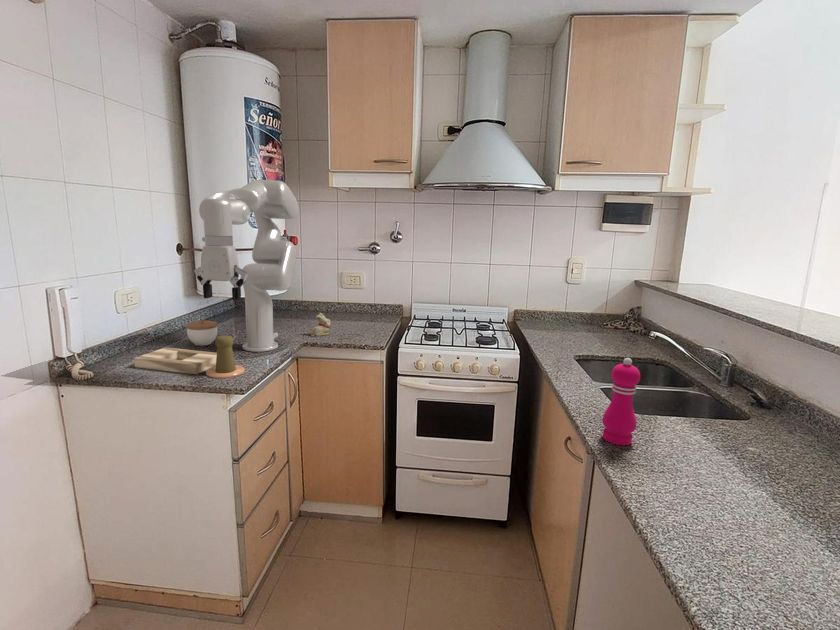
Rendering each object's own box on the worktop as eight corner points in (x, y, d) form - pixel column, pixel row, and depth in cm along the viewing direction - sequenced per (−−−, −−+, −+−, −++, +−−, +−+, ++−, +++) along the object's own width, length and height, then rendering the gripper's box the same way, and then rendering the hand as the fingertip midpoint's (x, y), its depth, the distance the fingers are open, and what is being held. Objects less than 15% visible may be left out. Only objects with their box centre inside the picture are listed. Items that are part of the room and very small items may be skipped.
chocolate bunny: (327, 337, 183) (327, 314, 182) (309, 336, 184) (309, 313, 182) (331, 334, 189) (331, 311, 187) (313, 333, 189) (313, 310, 187)
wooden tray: (166, 355, 151) (165, 347, 150) (223, 362, 146) (222, 353, 146) (134, 367, 138) (134, 358, 138) (196, 374, 134) (195, 365, 133)
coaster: (221, 365, 143) (221, 363, 143) (251, 368, 141) (251, 366, 141) (198, 375, 133) (198, 374, 133) (230, 379, 131) (230, 377, 131)
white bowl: (223, 340, 172) (222, 317, 171) (210, 347, 162) (208, 323, 160) (196, 339, 173) (195, 316, 171) (181, 346, 162) (179, 322, 160)
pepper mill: (593, 433, 105) (604, 353, 101) (619, 431, 107) (631, 352, 103) (613, 448, 98) (625, 363, 94) (640, 445, 100) (653, 362, 96)
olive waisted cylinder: (213, 373, 133) (211, 339, 131) (217, 367, 139) (215, 334, 137) (234, 372, 135) (233, 338, 133) (237, 366, 141) (235, 333, 138)
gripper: (184, 241, 127) (188, 298, 131) (237, 243, 124) (240, 303, 127) (201, 240, 134) (205, 295, 138) (252, 242, 131) (255, 299, 135)
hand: (222, 298), depth 133 cm, fingers open, 9 cm apart
